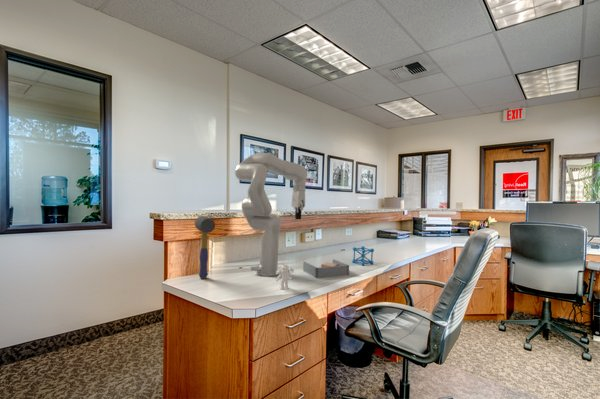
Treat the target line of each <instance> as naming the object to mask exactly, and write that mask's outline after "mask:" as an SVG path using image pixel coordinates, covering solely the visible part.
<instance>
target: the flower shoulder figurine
mask: <svg viewBox="0 0 600 399" xmlns="http://www.w3.org/2000/svg"><path fill="white" fill-rule="evenodd" d="M294 270H295V269H294V267H292V266H289V265H288V263H282V262H281V266H280V268H278V270H277V272H276V274H278V273H279V275H277V277H276V280H275V281H276V283H278V281H281V282H280V287H279V290H281V291H283V290H285V289H286V290H287V289H289V284H288V282H289V280H290V281H291V280H292V279H293V277H292V276H293V275H292V274H293V273H294ZM280 278H281V280H280Z"/></svg>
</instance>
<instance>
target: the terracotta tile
mask: <svg viewBox="0 0 600 399" xmlns="http://www.w3.org/2000/svg"><path fill="white" fill-rule="evenodd" d="M330 266H338V264H335V263H333V262H328V261H326V262H323V263H322V264H321V266H320V267H330Z"/></svg>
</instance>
